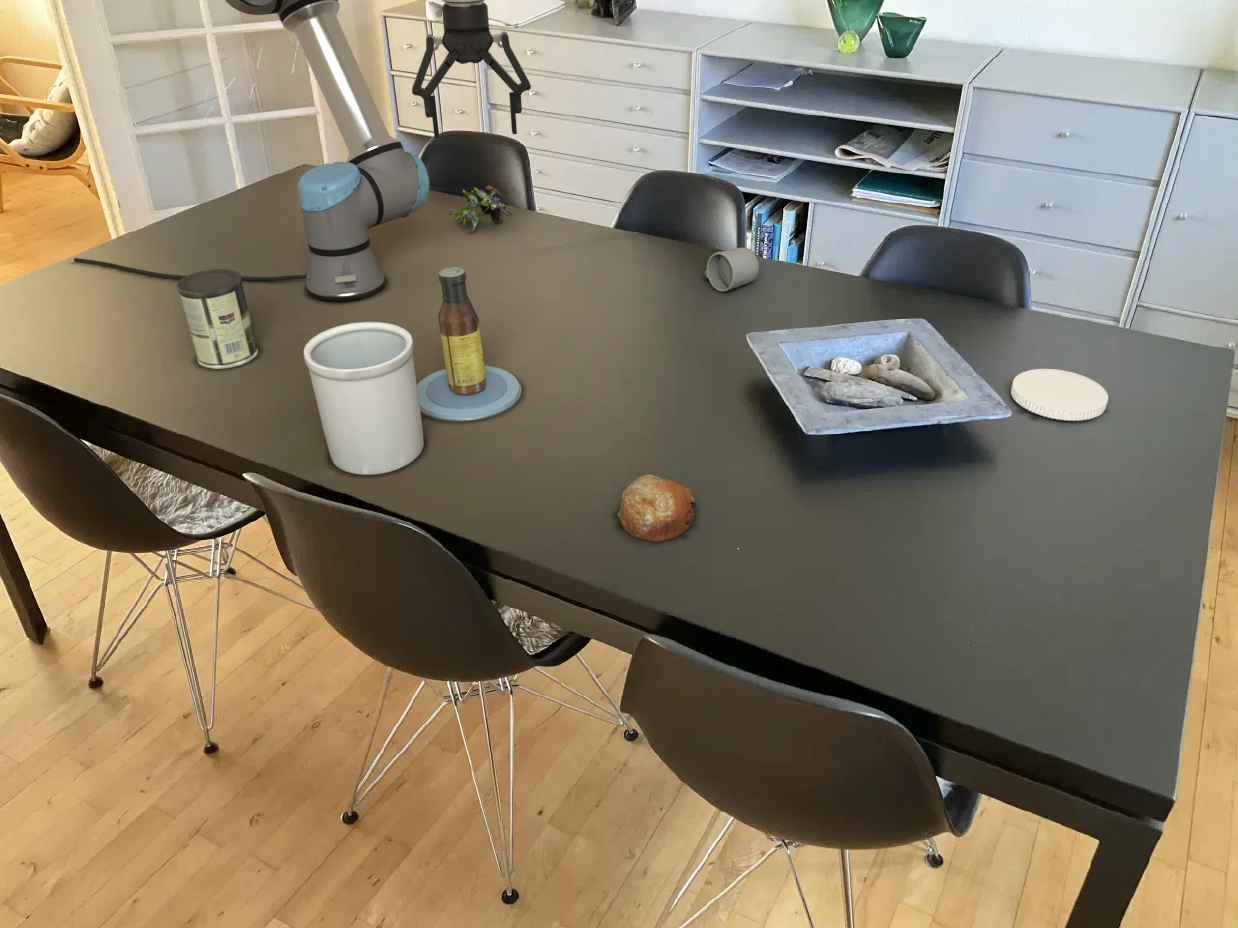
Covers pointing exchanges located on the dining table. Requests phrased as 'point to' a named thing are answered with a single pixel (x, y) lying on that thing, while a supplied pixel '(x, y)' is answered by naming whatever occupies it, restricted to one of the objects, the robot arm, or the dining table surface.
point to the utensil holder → (367, 396)
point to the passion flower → (486, 204)
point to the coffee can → (218, 318)
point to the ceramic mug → (732, 268)
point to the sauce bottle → (460, 335)
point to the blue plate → (468, 397)
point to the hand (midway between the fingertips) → (475, 134)
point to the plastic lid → (1059, 394)
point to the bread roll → (656, 508)
